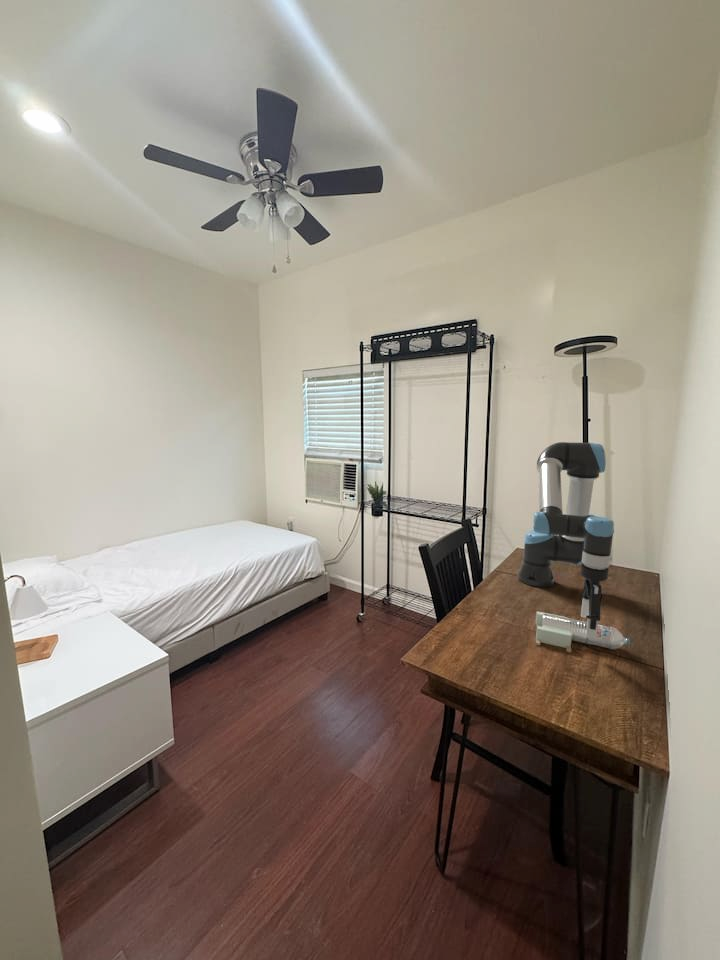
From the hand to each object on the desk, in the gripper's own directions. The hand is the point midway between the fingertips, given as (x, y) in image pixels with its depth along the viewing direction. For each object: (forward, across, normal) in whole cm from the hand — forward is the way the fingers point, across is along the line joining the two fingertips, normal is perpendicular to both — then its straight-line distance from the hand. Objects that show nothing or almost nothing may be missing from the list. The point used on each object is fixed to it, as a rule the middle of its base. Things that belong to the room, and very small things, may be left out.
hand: (587, 627), depth 125 cm
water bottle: (+2, 0, +14) cm, 14 cm away
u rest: (+5, 0, +10) cm, 12 cm away
